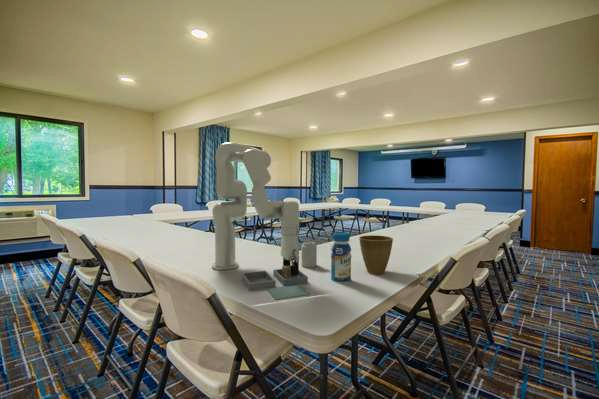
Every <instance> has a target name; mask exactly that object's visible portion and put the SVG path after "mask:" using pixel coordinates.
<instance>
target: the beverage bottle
mask: <svg viewBox="0 0 599 399" xmlns="http://www.w3.org/2000/svg"><path fill="white" fill-rule="evenodd" d="M350 237H351V236H350V233H349V232H346V231H335V232H333V234H332V240H333V241H332V242H333V244H332V246H331V248H330V251H331V253H330V260H331V262H330V263H331V264H330V265H331V268H330V271H331V273H330V279H331V281H332V282H334V283H338V284H349V283H350V282H351V281H352V275H351V274H352V253H351V251H352V248H351V245H350V243H349V242H350Z"/></svg>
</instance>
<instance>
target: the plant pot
mask: <svg viewBox="0 0 599 399" xmlns="http://www.w3.org/2000/svg"><path fill="white" fill-rule="evenodd" d="M358 240H359V244H360V245H359V246H360V251H361V256H362V259H363V262H364V265H365V268H366V272H367V273H368V274H372V275H383V274H384V273H386V269H387V266H388V264H389V260H390V257H391V252H392V249H393V248H392V247H393V242H394V238H393V237H391V236H387V235H377V234H376V235H370V234H369V235H361V236H359V237H358Z"/></svg>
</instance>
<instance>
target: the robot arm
mask: <svg viewBox="0 0 599 399" xmlns="http://www.w3.org/2000/svg"><path fill="white" fill-rule="evenodd" d="M233 162H237V163H243V165H244V167H245V169H246V172H247V174H248V176H249V179H250V181H251V182H252V188H251V202H252V204H253V207H254V209H255V210H256V213H257V214H258V216H259V217H260V218H262V219H263V220H274V219H280V235H281V238H280V239H281V241H280V242H281V244H280V256H281V257H282V266H289V265H292V266H291V276H295V275H299V271H300V268H299V266H300V247H299V246H300V245H299V236H300V206H299V205H300V204H299V203H298V202H297V201H293V200H292V201H291V200H290V201H283V200H269V199H268V196H267V195H266V192H265V187H266V185H267V184H268V183H270V181H271V180H272V176H271V174H270V171H269V170H268V168H269V167H270V165H271V163H272V158H271V156H270V154H269V152H267V151H266V150H262V149H258V148H255V147H253V146H250V145H245V144H240V143H236V142H224V143H221V144H220V145H219V146H218V147H217V149H216V152H215V165H216V181H215V182H216V185H215V186H216V190H215V192H216V195H217V197H218V198H219V199H222V200H231V201H223V202H222V201H220V202H218V203H216V204H215V205H214V206H213V208H212V217H213V223H214V224H213V225H214V249H215V250H214V254H215V255H214V256H215V257H214V259H215V260H214V263H212V264H211V268H212V269H214V270H217V271H219V270H220V271H228V270H233V269H237V268H239V265H240V264H239V262H238V261H236V229H235V226H234V224H233V221H238V220H239V221H240V220H242V219H244V217H245V216H246V215H247V206H248V188H247V185H246V184H245V182H244V181H242V180H240V179H236V172H235V167H234V165H233Z"/></svg>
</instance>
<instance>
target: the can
mask: <svg viewBox="0 0 599 399" xmlns="http://www.w3.org/2000/svg"><path fill="white" fill-rule="evenodd" d="M300 248H301V250H300V251H301V253H300V254H301V261H300V262H301V263H300V264H301V267H304V268H306V269H310V268H311V269H312V268H315V267H317V261H318V258H317V254H318V251H317V250H318V248H317V244H316V242H314V241H304V242H302V245H301V247H300Z"/></svg>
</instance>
